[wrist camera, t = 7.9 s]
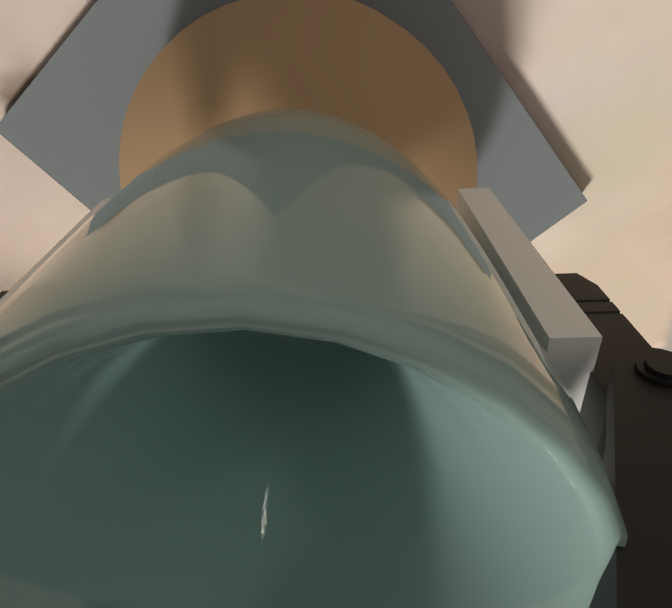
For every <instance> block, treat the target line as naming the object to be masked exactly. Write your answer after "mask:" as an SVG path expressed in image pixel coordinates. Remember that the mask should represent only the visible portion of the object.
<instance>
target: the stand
mask: <svg viewBox="0 0 672 608" xmlns="http://www.w3.org/2000/svg"><path fill="white" fill-rule="evenodd" d="M289 108H299V109H305V110H311V111H316V112H322V113H328V114H333V115H336V116H338V117H341V118H343V119H345V120H348V121H350V122H353V123H355V124H357V125H360V126H362V127H364V128H367V129H369V130H371V131H372V132H374V133H375V134H376V135H378V136H379V137H381V138H382V139H384V140H385V141H387V142H388V143H390V144H391V145H393V146H394V147H396V148H397V149H399V150H400V151H401V152H403V153H404V154H405V155H406V156H407V157H409V158H410V159H411V160H412V161H413V162H414V163H415V164H416V165H417V166H418V167H419V168H420V169H421V170H422V171H423V172H424V173H425V174H426V175H427V176H428V177H429V178H430V179H431V180H432V181H433V182H434V183H435V184H436V185H437V186H438V187H439V188H440V190H441V191H442V192H443V193H444V194H445V195H446V196H447V197H448V199H449V200H450V201H451V203H452V204H453V205H454V207H455V208H456V207H457V196H458V189H464V188H489V189H490V190H491V191H492V192H493V194H494V195H495V196H496V198H497V199H498V200H499V202H500V203H501V204H502V206H503V207H504V208H505V210H506V211H507V212H508V213H509V215H510V216H511V217H512V219H513V220H514V221H515V223H516V224H517V225H518V227H519V228H520V229H521V231H522V232H523V233H524V234H525V236H526V237H527V238H528V240H529V241H532V240H533V239H534V238H536V237H537V236H539V235H540V234H541V233H543V232H544V231H546V230H547V229H548V228H550V227H551V226H553V225H554V224H556V223H557V222H558V221H560V220H561V219H563V218H564V217H565V216H567V215H568V214H570V213H571V212H572V211H574V210H575V209H577V208H578V207H579V206H581V205H582V204H584V203H585V202H587V199H586V198H585V196H584V195H583V194H582V192H581V191H580V189H579V188H578V186H577V185H576V183H575V182H574V180H573V179H572V177H571V176H570V174H569V173H568V172H567V170H566V169H565V167H564V166H563V164H562V163H561V161H560V160H559V158H558V157H557V155H556V154H555V152H554V151H553V149H552V148H551V147H550V145H549V144H548V142H547V141H546V139H545V138H544V136H543V135H542V133H541V132H540V130H539V129H538V127H537V126H536V124H535V123H534V122H533V120H532V119H531V117H530V116H529V114H528V113H527V111H526V110H525V108H524V107H523V105H522V104H521V102H520V101H519V99H518V98H517V97H516V95H515V94H514V92H513V91H512V89H511V88H510V86H509V85H508V83H507V82H506V80H505V79H504V77H503V76H502V74H501V73H500V72H499V70H498V69H497V67H496V66H495V64H494V63H493V61H492V60H491V58H490V57H489V55H488V54H487V52H486V51H485V50H484V48H483V47H482V45H481V44H480V42H479V41H478V39H477V38H476V36H475V35H474V33H473V32H472V30H471V29H470V27H469V26H468V25H467V23H466V22H465V20H464V19H463V17H462V16H461V14H460V13H459V11H458V10H457V8H456V7H455V5H454V4H453V2H452V1H451V0H97V1H96V3H95V4H94V5H93V6H92V8H91V9H90V10H89V11H88V13H87V14H86V15H85V16H84V18H83V19H82V20H81V21H80V23H79V24H78V25H77V26H76V28H75V29H74V30H73V31H72V33H71V34H70V35H69V36H68V38H67V39H66V40H65V41H64V43H63V44H62V45H61V46H60V48H59V49H58V50H57V51H56V53H55V54H54V55H53V56H52V58H51V59H50V60H49V61H48V63H47V64H46V65H45V66H44V68H43V69H42V70H41V71H40V73H39V74H38V75H37V76H36V78H35V79H34V80H33V81H32V83H31V84H30V85H29V86H28V88H27V89H26V90H25V91H24V93H23V94H22V95H21V96H20V98H19V99H18V100H17V101H16V102H15V104H14V105H13V106H12V107H11V109H10V110H9V111H8V112H7V114H6V115H5V116H4V117H3V119H2V120H1V121H0V134H1V135H2V136H3V137H4V138H6V139H7V140H8V141H9V142H10V143H12V144H13V145H14V146H15V147H16V148H17V149H19V150H20V151H21V152H22V153H23V154H25V155H26V156H27V157H28V158H29V159H31V160H32V161H33V162H34V163H35V164H36V165H38V166H39V167H40V168H41V169H42V170H44V171H45V172H46V173H47V174H48V175H50V176H51V177H52V178H53V179H54V180H55V181H57V182H58V183H59V184H60V185H61V186H63V187H64V188H65V189H66V190H67V191H69V192H70V193H71V194H72V195H73V196H74V197H76V198H77V199H78V200H79V201H80V202H82V203H83V204H84V205H85V206H86V207H88V208H89V209H90V210H92V209H93V208H94V207H95V206H96V205H97V204H98V203H100V202H101V201H102V200H103V199H111V198H113V197H114V196H115V195H116V194H117V193H118V192H119V191H121V190H122V189H123V188H124V187H125V186H126V185H127V184H129V183H130V182H131V181H132V180H133V179H134V178H136V177H137V176H138V175H139V174H140V173H141V172H142V171H144V170H145V169H146V168H147V167H149V166H150V165H151V164H152V163H154V162H155V161H156V160H157V159H159V158H160V157H161V156H162V155H164V154H165V153H167V152H169V151H170V150H172V149H173V148H175V147H176V146H178V145H180V144H182V143H183V142H185V141H187V140H189V139H190V138H192V137H194V136H196V135H198V134H199V133H201V132H203V131H205V130H206V129H208V128H210V127H212V126H214V125H216V124H219V123H221V122H224V121H227V120H230V119H234V118H237V117H240V116H243V115H246V114H250V113H253V112H256V111H262V110H275V109H289Z"/></svg>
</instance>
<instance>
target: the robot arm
mask: <svg viewBox="0 0 672 608" xmlns="http://www.w3.org/2000/svg"><path fill="white" fill-rule="evenodd" d="M109 200H110V199H103V200H102V201H101V202H100V203H98V204H97V205H96V206H95V207H94V208H93V209H92V210H91V211H90V212H89V213H88V214H87V215H86V216H85V217H84V218H83V219H82V220H81V221H80V222H79V223H78V224H77V225H76V226H75V227H74V228H73V229H72V230H71V231H70V232H69V233H68V234H67V235H66V236H65V237H64V238H63V239H62V240H60V241H59V242H58V243H57V244H56V245H55V246H54V247H53V248H52V249H51V250H50V251H49V252H48V253H47V254H46V255H45V256H44V257H43V258H42V259H41V260H40V261H39V262H38V263H37V264H36V265H35V266H34V267H33V268H32V269H31V270H30V271H29V272H28V273H27V274H26V275H25V276H24V277H23V278H21V279H20V280H19V281H18V282H17V283H16V284H15V285H14V286H13V287H12V288H11V289H10V290H9V291H3V292H1V293H0V306H1V305H2V304H3V303H4V302H5V301H6V300H7V299H8V298H9V297H10V296H11V295H12V294H13V293H14V292H15V291H16V290H17V289H18V288H19V287H20V286H21V285H22V284H23V283H24V282H25V281H26V280H27V279H28V278H29V277H30V276H31V275H32V274H33V273H34V272H35V271H36V270H37V269H38V268H39V267H40V266H41V265H42V264H43V263H44V262H45V261H46V260H47V259H48V258H49V257H50V256H51V255H52V254H53V253H54V252H55V251H56V250H57V249H58V248H59V247H60V246H61V245H62V244H63V243H64V242H65V241H66V240H67V239H68V238H69V237H70V236H71V235H72V234H74V233H75V232H76V231H77V230H78V229H79V228H80V227H81V226H82V225H83V224H84V223H85V222H86V221H87V220H88V219H89V218H90V217H91V216H92V215H94V214H95V213H96V212H97V211H98V210H99V209H100V208H101V207H102V206H104V205H105V204H106V203H107V202H108V201H109ZM456 210H457V211H458V212H459V214H460V215H461V217H462V218H463V219H464V221H465V222H466V224H467V225H468V227H469V228H470V230H471V231H472V233H473V234H474V236H475V237H476V238H477V240H478V241H479V243H480V244H481V246H482V247H483V249H484V250H485V252H486V253H487V255H488V256H489V258H490V259H491V261H492V262H493V264H494V265H495V267H496V269H497V270H498V272H499V273H500V275H501V276H502V278H503V280H504V281H505V283H506V285H507V286H508V288H509V290H510V291H511V293H512V295H513V296H514V298H515V300H516V301H517V303H518V305H519V306H520V308H521V310H522V312H523V313H524V315H525V317H526V318H527V320H528V322H529V324H530V325H531V327H532V329H533V330H534V332H535V334H536V336H537V337H538V339H539V341H540V342H541V344H542V346H543V348H544V349H545V351H546V353H547V355H548V356H549V358H550V360H551V362H552V363H553V365H554V367H555V369H556V370H557V372H558V374H559V376H560V377H561V379H562V381H563V383H564V385H565V386H566V388H567V390H568V392H569V394H570V395H571V397H572V399H573V401H574V403H575V405H576V407H577V409H578V410H579V412H580V414H581V416H582V418H583V420H584V422H585V424H586V426H587V428H588V430H589V432H590V434H591V436H592V438H593V441H594V443H595V445H596V447H597V450H598V452H599V454H600V457H601V459H602V461H603V463H604V466H605V469H606V471H607V474H608V477H609V479H610V482H611V485H612V487H613V490H614V493H615V495H616V498H617V500H618V503H619V506H620V508H621V511H622V514H623V518H624V522H625V525H626V529H627V532H628V539H627V542H626V546H625V547H622V546H616V548H615V550H614V553H613V555H612V557H611V559H610V561H609V562H608V564H607V566H606V568H605V570H604V572H603V574H602V576H601V578H600V580H599V582H598V585H597V588H596V590H595V593H594V596H593V598H592V601H591V604H590V606H589V608H672V352H670V351H667V350H663V349H658V348H652V347H651V346H650V345H649V344H648V343H647V341H646V340H645V339H644V338H643V337H642V336H641V335H640V333H639V332H638V331H637V330H636V329H635V328H634V327H633V325H632V324H631V323H630V322H629V321H628V320H627V319H626V317H625V316H624V315H623V314H620V311H619V309H618V308H617V307H616V306H615V305H614V304H613V302H610V299H609V298H608V297H607V296H606V294H605V293H604V292H603V291H602V290H601V289H600V288H599V286H598V285H596V284H594V283H593V282H591V281H589V280H587V279H586V278H584V277H582V276H580V275H579V274H577V273H568V274H554V272H553V271H552V270H551V269H550V267H549V266H548V265H547V263H546V262H545V261H544V259H543V258H542V257H541V255H540V254H539V253H538V252H537V250H536V249H535V248H534V246H533V245H532V244H531V242H530V241H529V240H528V238H527V237H526V236H525V234H524V233H523V232H522V231H521V229H520V228H519V227H518V225H517V224H516V223H515V221H514V220H513V219H512V217H511V216H510V215H509V213H508V212H507V211H506V210H505V208H504V207H503V206H502V204H501V203H500V202H499V200H498V199H497V198H496V196H495V195H494V194H493V192H492V191H491V190H490V189H489V188H464V189H458V196H457V207H456Z"/></svg>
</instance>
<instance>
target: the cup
mask: <svg viewBox="0 0 672 608" xmlns="http://www.w3.org/2000/svg"><path fill="white" fill-rule="evenodd" d="M627 539H628V532H627V529H626V525H625V522H624V518H623V514H622V511H621V508H620V506H619V503H618V500H617V498H616V495H615V493H614V490H613V487H612V485H611V482H610V479H609V477H608V474H607V471H606V469H605V466H604V463H603V461H602V459H601V457H600V454H599V452H598V450H597V447H596V445H595V443H594V441H593V438H592V436H591V434H590V432H589V430H588V428H587V426H586V424H585V422H584V420H583V418H582V416H581V414H580V412H579V410H578V409H577V407H576V405H575V403H574V401H573V399H572V397H571V395H570V394H569V392H568V390H567V388H566V386H565V385H564V383H563V381H562V379H561V377H560V376H559V374H558V372H557V370H556V369H555V367H554V365H553V363H552V362H551V360H550V358H549V356H548V355H547V353H546V351H545V349H544V348H543V346H542V344H541V342H540V341H539V339H538V337H537V336H536V334H535V332H534V330H533V329H532V327H531V325H530V324H529V322H528V320H527V318H526V317H525V315H524V313H523V312H522V310H521V308H520V306H519V305H518V303H517V301H516V300H515V298H514V296H513V295H512V293H511V291H510V290H509V288H508V286H507V285H506V283H505V281H504V280H503V278H502V276H501V275H500V273H499V272H498V270H497V269H496V267H495V265H494V264H493V262H492V261H491V259H490V258H489V256H488V255H487V253H486V252H485V250H484V249H483V247H482V246H481V244H480V243H479V241H478V240H477V238H476V237H475V236H474V234H473V233H472V231H471V230H470V228H469V227H468V225H467V224H466V222H465V221H464V219H463V218H462V217H461V215H460V214H459V212H458V211H457V210H456V208H455V207H454V205H453V204H452V203H451V201H450V200H449V199H448V197H447V196H446V195H445V194H444V193H443V192H442V191H441V190H440V188H439V187H438V186H437V185H436V184H435V183H434V182H433V181H432V180H431V179H430V178H429V177H428V176H427V175H426V174H425V173H424V172H423V171H422V170H421V169H420V168H419V167H418V166H417V165H416V164H415V163H414V162H413V161H412V160H411V159H410V158H409V157H407V156H406V155H405V154H404V153H403V152H401V151H400V150H399V149H397V148H396V147H394V146H393V145H391V144H390V143H388V142H387V141H385V140H384V139H382V138H381V137H379V136H378V135H376V134H375V133H374V132H372V131H371V130H369V129H367V128H364V127H362V126H360V125H357V124H355V123H353V122H350V121H348V120H345V119H343V118H341V117H338V116H336V115H333V114H328V113H322V112H316V111H311V110H305V109H299V108H289V109H275V110H262V111H256V112H253V113H250V114H246V115H243V116H240V117H237V118H234V119H230V120H227V121H224V122H221V123H219V124H216V125H214V126H212V127H210V128H208V129H206V130H205V131H203V132H201V133H199V134H198V135H196V136H194V137H192V138H190V139H189V140H187V141H185V142H183V143H182V144H180V145H178V146H176V147H175V148H173V149H172V150H170V151H169V152H167V153H165V154H164V155H162V156H161V157H160V158H159V159H157V160H156V161H155V162H154V163H152V164H151V165H150V166H149V167H147V168H146V169H145V170H144V171H142V172H141V173H140V174H139V175H138V176H137V177H136V178H134V179H133V180H132V181H131V182H130V183H129V184H127V185H126V186H125V187H124V188H123V189H122V190H121V191H119V192H118V193H117V194H116V195H115V196H114V197H113V198H111V199H110V200H109V201H108V202H107V203H106V204H105V205H104V206H102V207H101V208H100V209H99V210H98V211H97V212H96V213H95V214H94V215H92V216H91V217H90V218H89V219H88V220H87V221H86V222H85V223H84V224H83V225H82V226H81V227H80V228H79V229H78V230H77V231H76V232H75V233H74V234H72V235H71V236H70V237H69V238H68V239H67V240H66V241H65V242H64V243H63V244H62V245H61V246H60V247H59V248H58V249H57V250H56V251H55V252H54V253H53V254H52V255H51V256H50V257H49V258H48V259H47V260H46V261H45V262H44V263H43V264H42V265H41V266H40V267H39V268H38V269H37V270H36V271H35V272H34V273H33V274H32V275H31V276H30V277H29V278H28V279H27V280H26V281H25V282H24V283H23V284H22V285H21V286H20V287H19V288H18V289H17V290H16V291H15V292H14V293H13V294H12V295H11V296H10V297H9V298H8V299H7V300H6V301H5V302H4V303H3V304H2V305H1V306H0V608H589V606H590V604H591V601H592V598H593V596H594V593H595V590H596V588H597V585H598V582H599V580H600V578H601V576H602V574H603V572H604V570H605V568H606V566H607V564H608V562H609V561H610V559H611V557H612V555H613V553H614V550H615V548H616V546H622V547H625V546H626V542H627Z"/></svg>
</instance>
